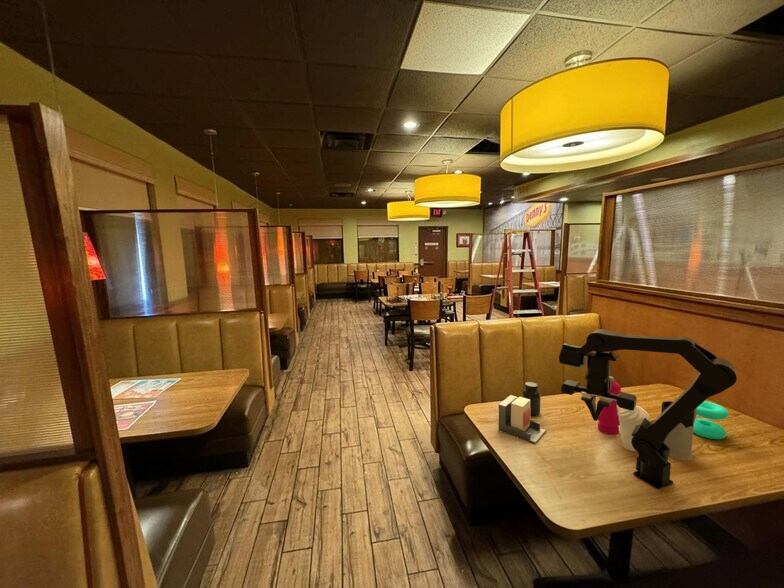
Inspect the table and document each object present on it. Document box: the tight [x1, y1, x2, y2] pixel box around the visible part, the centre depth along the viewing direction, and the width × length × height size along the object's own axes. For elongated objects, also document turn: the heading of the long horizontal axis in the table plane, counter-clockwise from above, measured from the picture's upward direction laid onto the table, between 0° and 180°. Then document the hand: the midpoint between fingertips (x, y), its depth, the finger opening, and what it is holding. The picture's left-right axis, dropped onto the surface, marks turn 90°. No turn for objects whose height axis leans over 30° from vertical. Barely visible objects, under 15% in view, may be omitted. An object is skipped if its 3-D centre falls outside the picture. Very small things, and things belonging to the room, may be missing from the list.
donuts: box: [693, 400, 729, 440], centre depth 108 cm, size 10×10×10 cm
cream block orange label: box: [511, 396, 532, 431], centre depth 113 cm, size 5×7×10 cm, turn 136°
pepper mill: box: [597, 375, 622, 436], centre depth 111 cm, size 7×7×20 cm
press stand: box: [497, 394, 547, 445], centre depth 113 cm, size 13×10×10 cm
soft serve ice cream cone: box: [617, 404, 651, 453], centre depth 101 cm, size 8×8×16 cm
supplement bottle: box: [521, 381, 542, 418], centre depth 125 cm, size 7×7×12 cm
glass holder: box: [660, 400, 697, 461], centre depth 99 cm, size 9×14×15 cm, turn 111°
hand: (595, 420), depth 97 cm, fingers closed
